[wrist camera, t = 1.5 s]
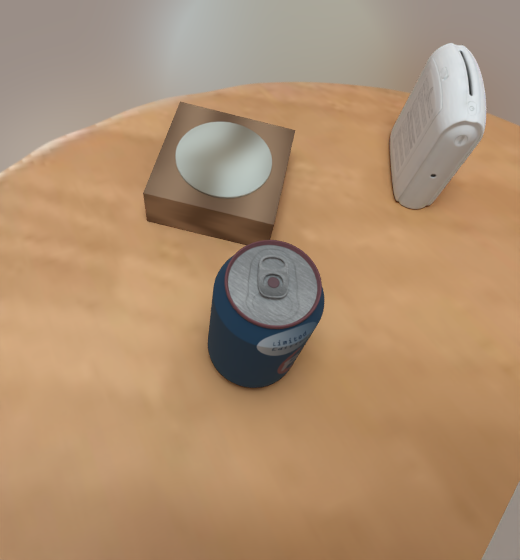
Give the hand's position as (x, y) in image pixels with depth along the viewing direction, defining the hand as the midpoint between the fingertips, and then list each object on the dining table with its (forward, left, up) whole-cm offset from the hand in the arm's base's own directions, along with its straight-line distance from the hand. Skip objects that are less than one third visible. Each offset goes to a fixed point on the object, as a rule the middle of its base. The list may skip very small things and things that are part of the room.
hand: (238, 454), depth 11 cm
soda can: (-1, -12, -25) cm, 27 cm away
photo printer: (-13, -35, -25) cm, 45 cm away
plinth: (+5, -27, -25) cm, 37 cm away
